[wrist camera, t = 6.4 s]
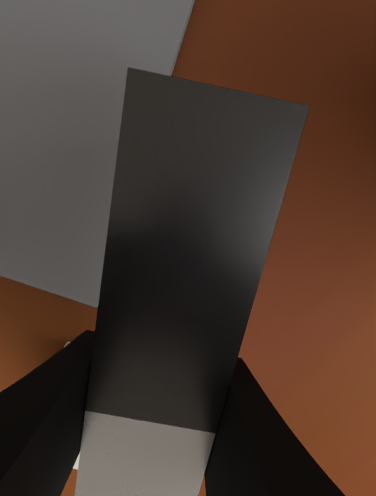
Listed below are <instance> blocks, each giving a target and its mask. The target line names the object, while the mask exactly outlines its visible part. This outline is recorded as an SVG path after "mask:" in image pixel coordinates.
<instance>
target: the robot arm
mask: <svg viewBox="0 0 376 496" xmlns="http://www.w3.org/2000/svg"><path fill="white" fill-rule="evenodd" d="M94 336H95V331H89V330H86V331H85V332H83V333H82V334H81V335H79V336H78V337H77V338H75V339H74V340H73V341H72V342H70V343H69V344H68V345H66V346H65V347H64V348H63V349H61V350H60V351H59V352H57V353H56V354H55V355H53V356H52V357H51V358H49V359H48V360H47V361H45V362H44V363H42V364H41V365H40V366H38V367H37V368H35V369H34V370H33V371H31V372H30V373H29V374H27V375H26V376H24V377H23V378H21V379H20V380H18V381H17V382H15V383H14V384H12V385H11V386H9V387H8V388H6V389H5V390H3V391H2V392H0V496H60V495H61V493H62V491H63V489H64V486H65V484H66V482H67V480H68V477H69V475H70V473H71V471H72V469H73V466H74V464H75V462H76V460H77V457H78V455H79V453H80V449H81V441H82V433H83V425H84V416H85V408H86V400H87V392H88V384H89V376H90V368H91V360H92V352H93V344H94ZM205 487H206V496H345V495H344V494H343V493H342V491H341V490H340V489H339V488H338V487H337V486H336V485H335V484H334V482H333V481H332V480H331V479H330V478H329V477H328V476H327V474H326V473H325V472H324V471H323V470H322V469H321V467H320V466H319V465H318V464H317V463H316V461H315V460H314V459H313V458H312V456H311V455H310V454H309V453H308V451H307V450H306V449H305V447H304V446H303V445H302V444H301V442H300V441H299V440H298V439H297V437H296V436H295V435H294V433H293V432H292V431H291V429H290V428H289V427H288V425H287V424H286V423H285V421H284V420H283V419H282V417H281V416H280V414H279V413H278V412H277V410H276V409H275V407H274V406H273V405H272V403H271V402H270V400H269V399H268V397H267V396H266V394H265V393H264V391H263V390H262V388H261V387H260V385H259V384H258V382H257V381H256V379H255V378H254V376H253V375H252V373H251V372H250V370H249V369H248V367H247V366H246V364H245V363H244V361H243V360H242V358H237V361H236V364H235V368H234V371H233V375H232V378H231V382H230V385H229V389H228V392H227V396H226V399H225V403H224V406H223V410H222V413H221V417H220V420H219V424H218V427H217V431H216V434H215V438H214V441H213V445H212V448H211V452H210V455H209V459H208V462H207V466H206V469H205Z"/></svg>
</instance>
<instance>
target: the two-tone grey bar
mask: <svg viewBox="0 0 376 496" xmlns="http://www.w3.org/2000/svg"><path fill="white" fill-rule="evenodd" d="M308 110H309V106H308V105H303V104H299V103H294V102H289V101H285V100H280V99H275V98H271V97H266V96H261V95H257V94H252V93H247V92H243V91H238V90H233V89H229V88H224V87H219V86H215V85H210V84H205V83H201V82H196V81H191V80H186V79H182V78H177V77H172V76H168V75H163V74H158V73H154V72H149V71H144V70H140V69H135V68H130V67H128V69H127V77H126V85H125V94H124V102H123V110H122V118H121V126H120V134H119V142H118V150H117V158H116V166H115V174H114V182H113V190H112V198H111V207H110V215H109V223H108V231H107V239H106V247H105V255H104V263H103V271H102V279H101V287H100V295H99V303H98V312H97V320H96V328H95V336H94V344H93V352H92V360H91V368H90V376H89V384H88V392H87V400H86V408H85V416H84V425H83V433H82V441H81V449H80V457H79V465H78V473H77V481H76V489H75V496H198V494H199V490H200V487H201V483H202V480H203V476H204V473H205V469H206V466H207V462H208V459H209V455H210V452H211V448H212V445H213V441H214V438H215V434H216V431H217V427H218V424H219V420H220V417H221V413H222V410H223V406H224V403H225V399H226V396H227V392H228V389H229V385H230V382H231V378H232V375H233V371H234V368H235V364H236V361H237V357H238V354H239V351H240V347H241V344H242V340H243V337H244V333H245V330H246V326H247V323H248V319H249V316H250V312H251V309H252V305H253V302H254V298H255V295H256V291H257V288H258V284H259V281H260V277H261V274H262V270H263V267H264V263H265V260H266V256H267V253H268V249H269V246H270V242H271V239H272V235H273V232H274V228H275V225H276V221H277V218H278V214H279V211H280V207H281V204H282V200H283V197H284V193H285V190H286V186H287V183H288V179H289V176H290V172H291V169H292V165H293V162H294V158H295V155H296V151H297V148H298V145H299V141H300V138H301V134H302V131H303V127H304V124H305V120H306V117H307V113H308Z"/></svg>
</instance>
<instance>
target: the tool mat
mask: <svg viewBox="0 0 376 496" xmlns="http://www.w3.org/2000/svg"><path fill="white" fill-rule="evenodd" d="M194 2H195V0H0V276H2V277H5V278H8V279H11V280H14V281H17V282H20V283H23V284H26V285H29V286H32V287H35V288H38V289H41V290H44V291H47V292H50V293H53V294H56V295H59V296H62V297H65V298H68V299H71V300H74V301H77V302H80V303H83V304H86V305H89V306H92V307H95V308H97V307H98V303H99V295H100V287H101V279H102V271H103V263H104V255H105V247H106V239H107V231H108V223H109V215H110V207H111V198H112V190H113V182H114V174H115V166H116V158H117V150H118V142H119V134H120V126H121V118H122V110H123V102H124V94H125V85H126V77H127V69H128V67H130V68H135V69H140V70H144V71H149V72H154V73H158V74H163V75H168V76H172V73H173V69H174V66H175V63H176V60H177V57H178V53H179V50H180V47H181V44H182V41H183V37H184V34H185V31H186V28H187V25H188V22H189V18H190V15H191V12H192V9H193V6H194Z"/></svg>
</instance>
